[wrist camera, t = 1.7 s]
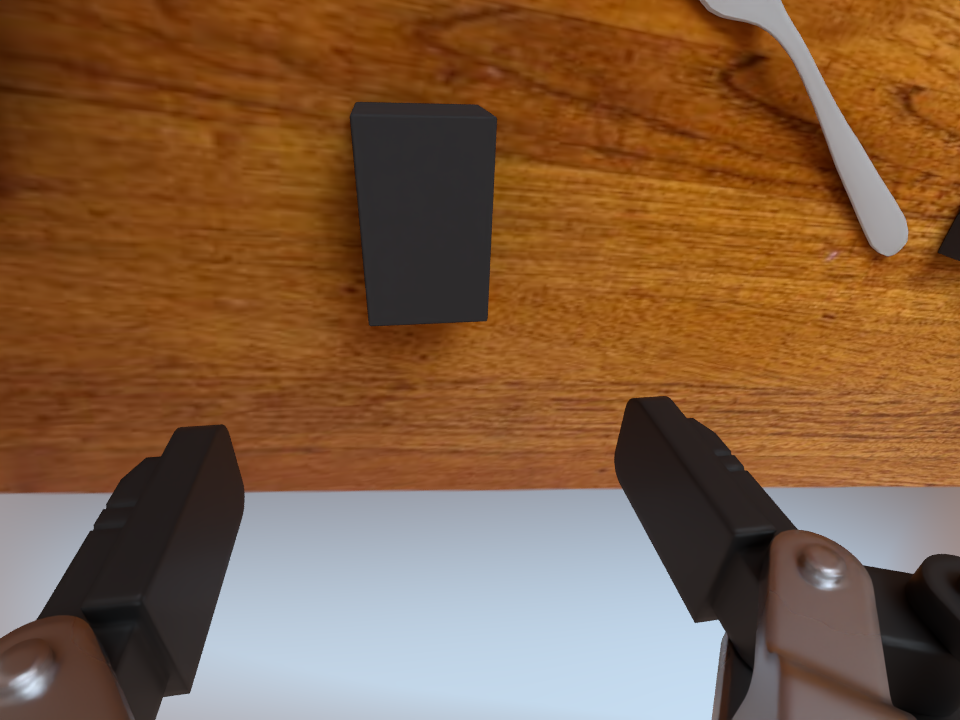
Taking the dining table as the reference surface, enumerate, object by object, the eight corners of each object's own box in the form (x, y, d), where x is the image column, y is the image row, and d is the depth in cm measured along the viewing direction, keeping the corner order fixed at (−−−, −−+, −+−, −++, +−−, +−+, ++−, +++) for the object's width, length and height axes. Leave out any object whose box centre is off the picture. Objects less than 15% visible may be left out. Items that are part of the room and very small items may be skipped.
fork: (871, 272, 29) (897, 285, 27) (606, -139, 18) (627, -155, 16) (923, 229, 28) (954, 239, 26) (679, -235, 17) (709, -263, 15)
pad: (354, 101, 20) (349, 113, 17) (479, 104, 21) (497, 116, 18) (370, 287, 24) (368, 327, 21) (473, 284, 25) (487, 322, 22)
